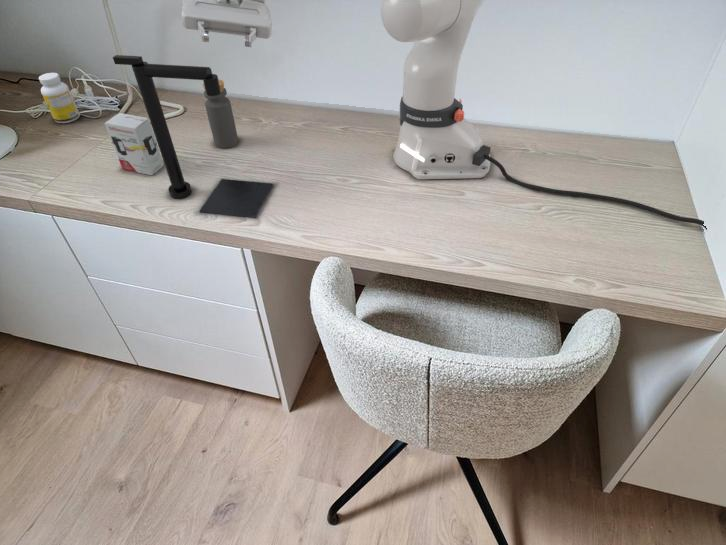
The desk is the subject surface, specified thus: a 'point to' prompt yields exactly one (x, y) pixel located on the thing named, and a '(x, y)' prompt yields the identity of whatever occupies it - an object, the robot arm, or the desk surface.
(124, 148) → the ink box
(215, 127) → the bottle
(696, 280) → the desk surface
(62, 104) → the pill bottle
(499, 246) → the desk surface
